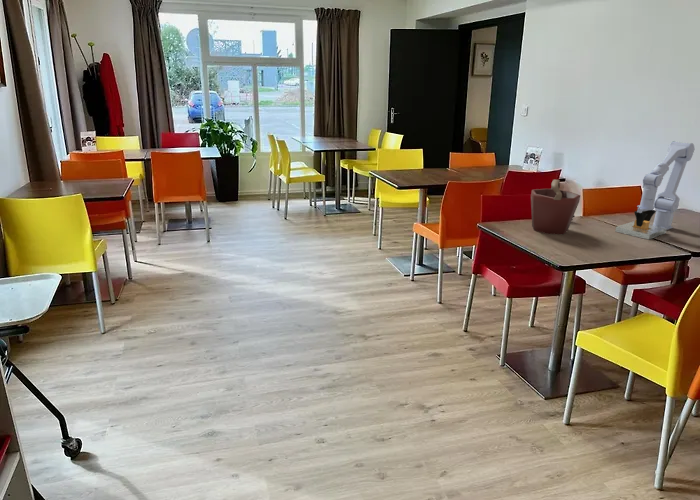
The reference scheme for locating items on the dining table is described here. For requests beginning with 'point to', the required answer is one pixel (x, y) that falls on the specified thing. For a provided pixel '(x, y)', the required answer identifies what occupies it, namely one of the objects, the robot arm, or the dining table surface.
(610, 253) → the dining table surface
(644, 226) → the orange rectangular block
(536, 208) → the bucket
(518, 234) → the dining table surface
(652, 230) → the grey plate with hole
